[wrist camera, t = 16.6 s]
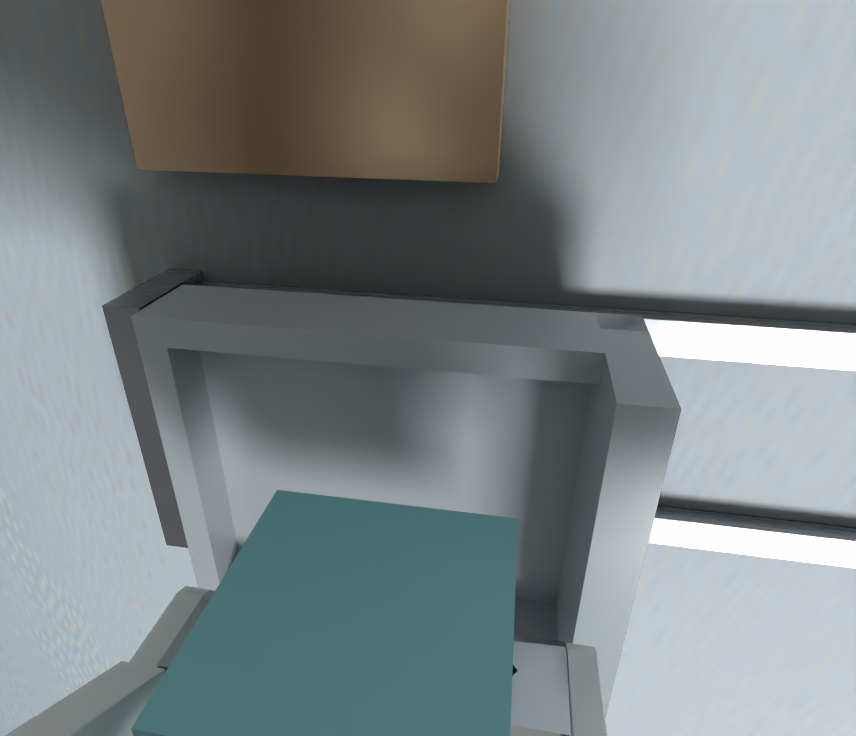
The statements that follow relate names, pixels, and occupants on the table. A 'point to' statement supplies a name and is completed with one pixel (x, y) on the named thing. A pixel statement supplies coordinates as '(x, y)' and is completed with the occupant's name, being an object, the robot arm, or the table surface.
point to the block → (351, 627)
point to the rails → (666, 329)
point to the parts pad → (314, 86)
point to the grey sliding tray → (422, 430)
